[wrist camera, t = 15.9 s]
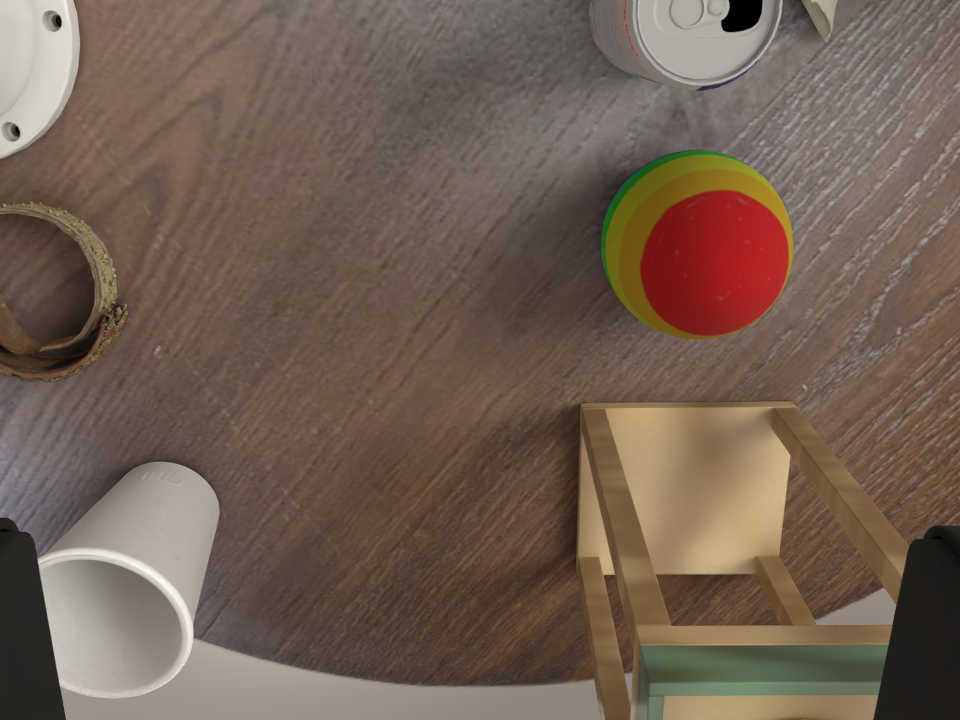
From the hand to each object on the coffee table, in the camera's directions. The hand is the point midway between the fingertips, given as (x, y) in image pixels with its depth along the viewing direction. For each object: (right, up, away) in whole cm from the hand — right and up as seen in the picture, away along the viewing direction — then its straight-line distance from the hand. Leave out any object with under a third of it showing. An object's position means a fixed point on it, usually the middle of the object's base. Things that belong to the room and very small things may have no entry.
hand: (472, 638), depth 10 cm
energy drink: (+8, +19, +32) cm, 37 cm away
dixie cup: (-17, -5, +40) cm, 44 cm away
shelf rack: (+11, -4, +40) cm, 41 cm away
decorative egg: (+10, +10, +35) cm, 38 cm away
